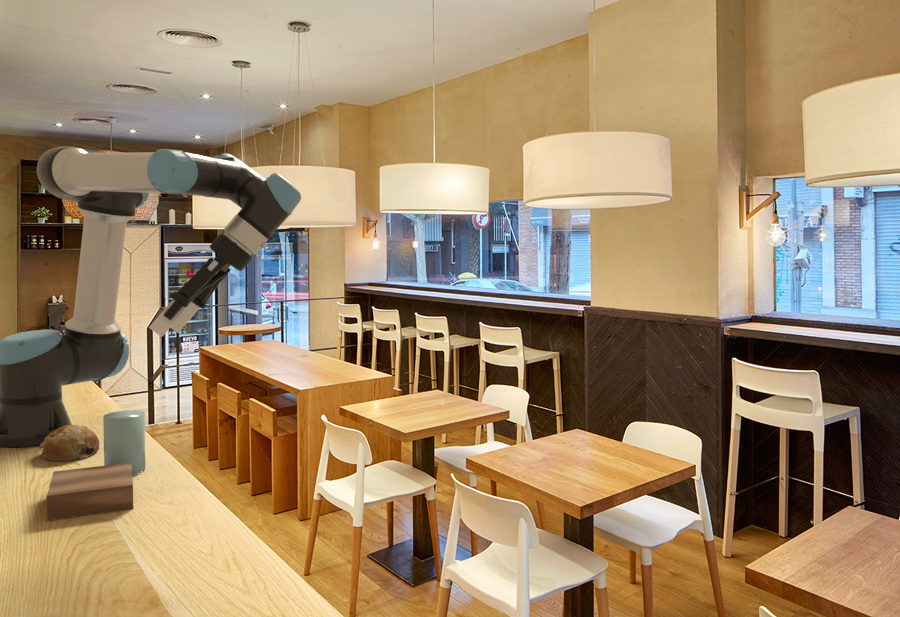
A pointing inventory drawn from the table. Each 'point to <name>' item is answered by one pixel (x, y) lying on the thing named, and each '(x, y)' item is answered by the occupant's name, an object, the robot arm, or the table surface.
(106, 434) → the dome-topped cylinder
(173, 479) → the table surface
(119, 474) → the pedestal
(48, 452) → the bread roll
